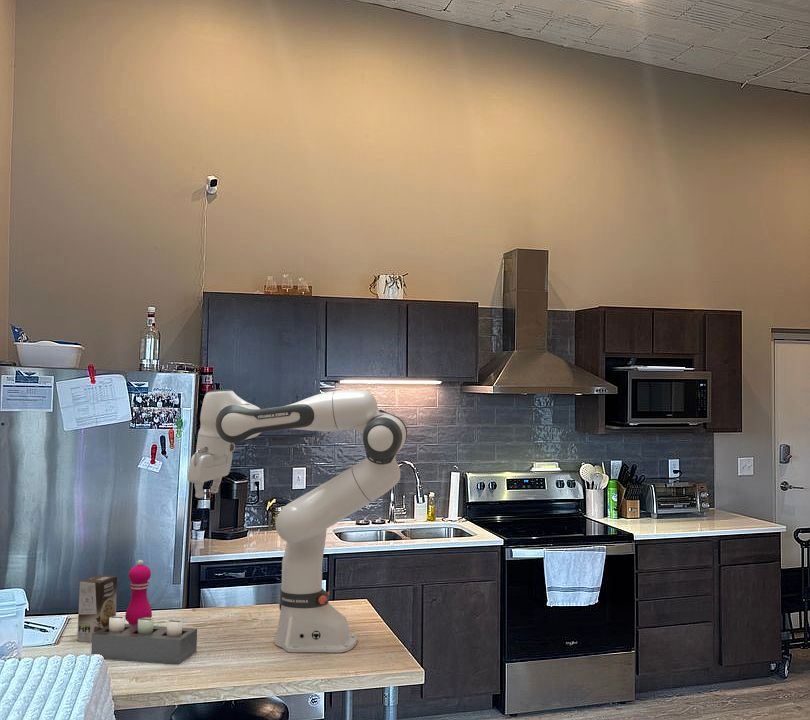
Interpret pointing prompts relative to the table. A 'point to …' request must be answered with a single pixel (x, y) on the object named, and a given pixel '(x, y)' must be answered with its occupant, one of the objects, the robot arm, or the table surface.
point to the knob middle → (145, 626)
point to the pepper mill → (139, 594)
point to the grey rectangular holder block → (145, 645)
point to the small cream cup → (116, 624)
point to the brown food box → (96, 605)
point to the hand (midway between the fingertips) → (206, 495)
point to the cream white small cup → (174, 628)
